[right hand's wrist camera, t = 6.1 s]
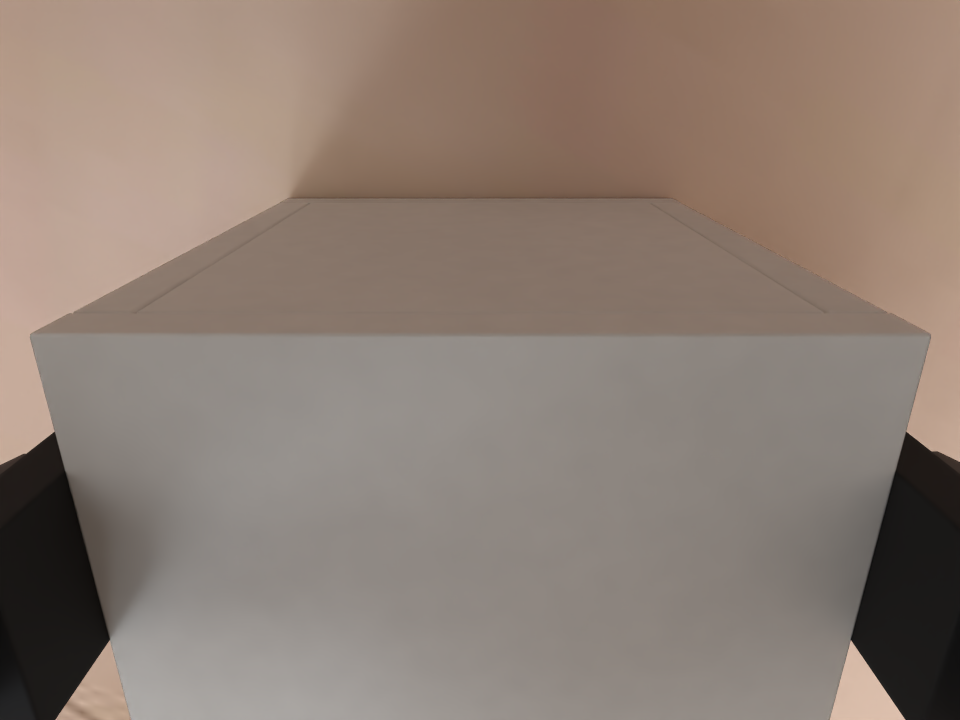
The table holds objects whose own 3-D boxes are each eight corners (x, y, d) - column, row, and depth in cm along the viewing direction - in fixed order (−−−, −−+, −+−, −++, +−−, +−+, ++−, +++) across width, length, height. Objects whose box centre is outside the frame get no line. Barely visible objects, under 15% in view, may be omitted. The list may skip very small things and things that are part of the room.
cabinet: (614, 761, 26) (703, 1200, 15) (345, 761, 26) (256, 1200, 15) (673, 197, 18) (934, 333, 8) (286, 197, 18) (26, 333, 8)
